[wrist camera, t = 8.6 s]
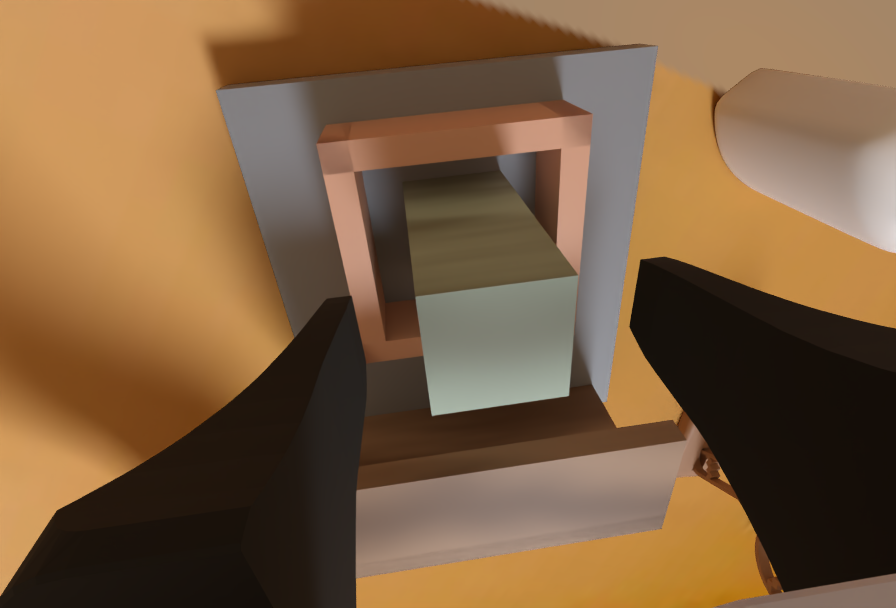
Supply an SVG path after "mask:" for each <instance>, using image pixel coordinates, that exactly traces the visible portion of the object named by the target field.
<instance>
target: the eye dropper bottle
mask: <svg viewBox="0 0 896 608" xmlns="http://www.w3.org/2000/svg"><path fill="white" fill-rule="evenodd" d="M715 132H716V139H717V143H718V147H719V150H720V153H721V155H722V157H723V159H724V161H725V163H726V165H727V166H728V168H729V169H730V170H731V171H732V173H733V174H734V175H735V176H736V177H737V178H738V179H739V180H741V181H742V182H743V183H744V184H746V185H747V186H749V187H750V188H752V189H754V190H755V191H758V192H760V193H762V194H764V195H766V196H768V197H770V198H772V199H774V200H776V201H779V202H781V203H783V204H785V205H787V206H789V207H791V208H793V209H795V210H797V211H800V212H802V213H804V214H806V215H808V216H810V217H812V218H814V219H817V220H819V221H821V222H823V223H825V224H827V225H829V226H831V227H834V228H836V229H838V230H840V231H842V232H844V233H846V234H849V235H851V236H853V237H855V238H857V239H860V240H862V241H864V242H866V243H869V244H871V245H873V246H875V247H878V248H880V249H883V250H886V251H889V252H893V253H896V88H893V87H887V86H881V85H874V84H867V83H860V82H854V81H848V80H841V79H835V78H828V77H821V76H814V75H807V74H800V73H793V72H786V71H779V70H772V69H763V68H761V69H758V70H756V71H754V72H752V73H750V74H749V75H748V76H746V77H745V78H744V79H743V80H741V81H740V82H739V83H738V84H736V85H735V86H734V87H733V88H731V89H730V90H729V91H728V92H727V93H725V94H724V95H723V96H722V97H721V99H720V100H719V101H718V102H717V105H716V108H715Z"/></svg>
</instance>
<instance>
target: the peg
mask: <svg viewBox="0 0 896 608" xmlns="http://www.w3.org/2000/svg"><path fill="white" fill-rule="evenodd" d="M402 184H403V193H404V202H405V210H406V219H407V228H408V237H409V246H410V255H411V264H412V272H413V281H414V290H415V299H416V306H417V313H418V320H419V327H420V334H421V342H422V349H423V356H424V363H425V370H426V378H427V385H428V392H429V399H430V406H431V413H432V416H434V415H441V414H448V413H455V412H462V411H469V410H476V409H483V408H489V407H496V406H503V405H510V404H517V403H524V402H531V401H538V400H544V399H551V398H558V397H565V396H569V388H570V375H571V363H572V351H573V338H574V326H575V313H576V301H577V288H578V276H579V275H578V274H577V273H576V271H575V270H574V269H573V267H572V266H571V265H570V263H569V262H568V261H567V259H566V258H565V256H564V255H563V254H562V252H561V251H560V250H559V248H558V247H557V246H556V244H555V243H554V242H553V240H552V239H551V238H550V236H549V235H548V234H547V232H546V231H545V230H544V228H543V227H542V226H541V224H540V223H539V222H538V220H537V219H536V218H535V216H534V215H533V214H532V212H531V211H530V210H529V208H528V207H527V206H526V204H525V203H524V202H523V200H522V199H521V197H520V196H519V195H518V193H517V192H516V191H515V189H514V188H513V187H512V185H511V184H510V183H509V181H508V180H507V179H506V177H505V176H504V175H503V173H502V172H501V171H500V170H498V171H490V172H481V173H472V174H464V175H455V176H447V177H438V178H429V179H421V180H412V181H404V182H402Z"/></svg>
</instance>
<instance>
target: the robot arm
mask: <svg viewBox="0 0 896 608" xmlns="http://www.w3.org/2000/svg"><path fill="white" fill-rule="evenodd" d="M629 327H630V329H631V331H632V333H633V335H634V337H635V339H636V341H637V343H638V345H639V347H640V349H641V350H642V352H643V354H644V356H645V358H646V359H647V361H648V362H649V364H650V365H651V366H652V368H653V369H654V371H655V372H656V373H657V375H658V376H659V378H660V379H661V380H662V382H663V383H664V384H665V386H666V387H667V388H668V390H669V391H670V393H671V394H672V395H673V397H674V398H675V399H676V401H677V402H678V403H679V405H680V406H681V407H682V409H683V410H684V411H685V413H686V414H687V415H688V417H689V418H690V420H691V421H692V422H693V424H694V425H695V426H696V428H697V429H698V431H699V432H700V434H701V435H702V437H703V438H704V440H705V441H706V443H707V444H708V446H709V448H710V450H711V451H712V453H713V455H714V456H715V458H716V460H717V462H718V463H719V465H720V467H721V468H722V470H723V472H724V474H725V475H726V477H727V479H728V481H729V483H730V484H731V486H732V488H733V490H734V492H735V494H736V496H737V497H738V499H739V501H740V503H741V505H742V507H743V509H744V510H745V512H746V514H747V516H748V518H749V520H750V522H751V524H752V526H753V528H754V530H755V532H756V534H757V536H758V538H759V540H760V542H761V544H762V546H763V548H764V550H765V552H766V554H767V557H768V559H769V561H770V563H771V565H772V567H773V569H774V571H775V574H776V576H777V578H778V580H779V583H780V585H781V587H782V589H783V591H784V593H778V594H772V595H766V596H761V597H755V598H749V599H743V600H738V601H734V602H731V603H728V604H724V605H721V606H717V607H714V608H896V329H895V328H890V327H885V326H880V325H876V324H871V323H867V322H863V321H859V320H855V319H851V318H847V317H843V316H840V315H836V314H832V313H828V312H825V311H821V310H817V309H814V308H811V307H807V306H804V305H801V304H798V303H795V302H792V301H789V300H786V299H783V298H780V297H777V296H774V295H771V294H768V293H765V292H762V291H759V290H756V289H754V288H751V287H748V286H746V285H743V284H740V283H738V282H735V281H732V280H730V279H727V278H724V277H722V276H719V275H717V274H714V273H711V272H709V271H706V270H704V269H701V268H698V267H695V266H693V265H690V264H687V263H684V262H681V261H678V260H675V259H671V258H667V257H658V258H650V259H642V260H640V266H639V272H638V278H637V284H636V290H635V296H634V302H633V308H632V314H631V320H630V326H629ZM366 399H367V375H366V358H365V354H364V349H363V345H362V340H361V336H360V331H359V326H358V322H357V317H356V313H355V308H354V304H353V299H352V296H344V297H335V298H327V299H326V300H325V301H324V302H323V303H322V305H321V306H320V307H319V308H318V309H317V311H316V312H315V313H314V314H313V316H312V317H311V318H310V320H309V321H308V322H307V323H306V325H305V326H304V327H303V328H302V330H301V331H300V332H299V333H298V334H297V336H296V337H295V338H294V339H293V340H292V342H291V343H290V344H289V345H288V346H287V348H286V349H285V350H284V351H283V352H282V353H281V354H280V355H279V356H278V357H277V358H276V359H275V360H274V361H273V362H272V363H271V365H270V366H269V367H268V368H267V369H266V370H265V371H264V372H263V373H262V374H261V375H260V376H259V377H258V378H257V379H256V380H255V381H253V382H252V383H251V384H250V385H249V386H248V387H247V388H246V389H245V390H243V391H242V392H241V393H240V394H239V395H238V396H237V397H235V398H234V399H233V400H232V401H231V402H230V403H228V404H227V405H226V406H225V407H223V408H222V409H221V410H219V411H218V412H217V413H215V414H214V415H213V416H211V417H210V418H209V419H207V420H206V421H205V422H203V423H202V424H201V425H199V426H198V427H197V428H195V429H194V430H193V431H191V432H190V433H188V434H187V435H186V436H184V437H183V438H181V439H180V440H178V441H177V442H175V443H174V444H172V445H171V446H169V447H168V448H166V449H165V450H163V451H161V452H160V453H158V454H157V455H155V456H153V457H152V458H150V459H149V460H147V461H145V462H144V463H142V464H141V465H139V466H137V467H136V468H134V469H132V470H130V471H129V472H127V473H125V474H124V475H122V476H120V477H118V478H116V479H115V480H113V481H111V482H109V483H107V484H105V485H104V486H102V487H100V488H98V489H96V490H94V491H93V492H91V493H89V494H87V495H85V496H83V497H82V498H80V499H78V500H76V501H74V502H72V503H70V504H69V505H67V506H65V507H63V508H61V509H59V510H57V511H56V513H55V514H54V516H53V517H52V519H51V520H50V521H49V523H48V525H47V526H46V528H45V529H44V531H43V532H42V534H41V535H40V537H39V538H38V540H37V541H36V543H35V544H34V546H33V547H32V549H31V550H30V552H29V553H28V555H27V556H26V558H25V560H24V561H23V563H22V564H21V566H20V567H19V569H18V570H17V572H16V573H15V575H14V576H13V578H12V579H11V581H10V582H9V584H8V585H7V587H6V588H5V590H4V592H3V593H2V595H1V596H0V608H356V492H357V478H358V469H359V460H360V452H361V443H362V435H363V426H364V417H365V408H366Z"/></svg>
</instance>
